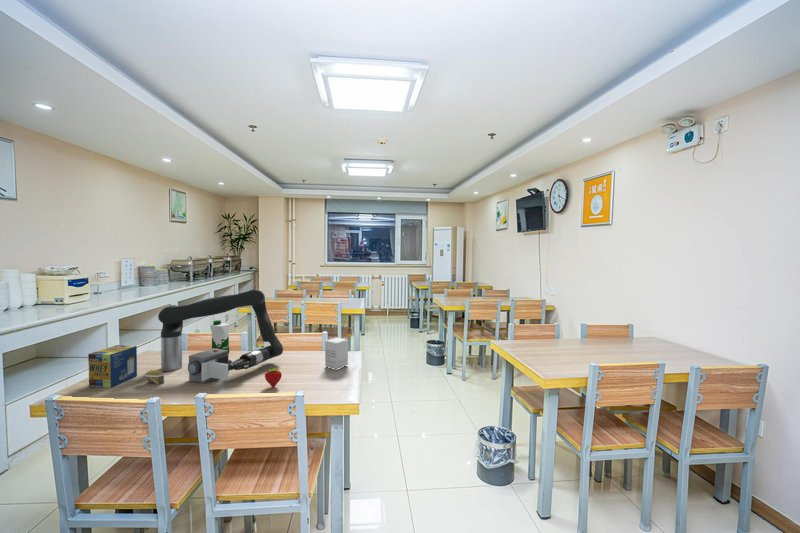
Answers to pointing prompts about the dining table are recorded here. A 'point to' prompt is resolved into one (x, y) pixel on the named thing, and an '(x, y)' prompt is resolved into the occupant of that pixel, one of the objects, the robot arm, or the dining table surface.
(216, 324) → the milk carton
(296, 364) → the dining table surface
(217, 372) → the hatch
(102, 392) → the dining table surface
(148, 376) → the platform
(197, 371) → the camera body
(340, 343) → the supplement box
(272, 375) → the strawberry
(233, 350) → the dining table surface
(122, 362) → the protein box
